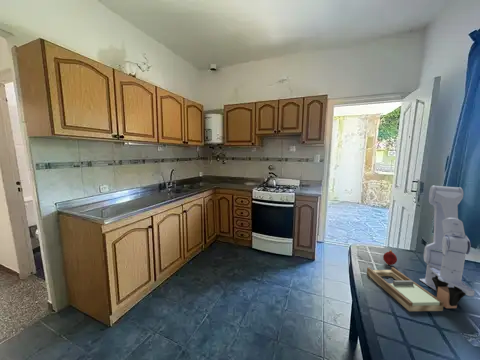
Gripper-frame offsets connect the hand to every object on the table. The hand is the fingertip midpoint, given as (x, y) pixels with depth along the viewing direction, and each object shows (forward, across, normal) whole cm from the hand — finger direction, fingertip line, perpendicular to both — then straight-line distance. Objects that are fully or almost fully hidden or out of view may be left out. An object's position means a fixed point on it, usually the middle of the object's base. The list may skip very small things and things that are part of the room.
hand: (446, 300), depth 80 cm
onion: (+2, -29, 0) cm, 29 cm away
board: (+2, -9, -11) cm, 14 cm away
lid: (0, -3, -11) cm, 11 cm away
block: (+1, 0, 0) cm, 1 cm away
